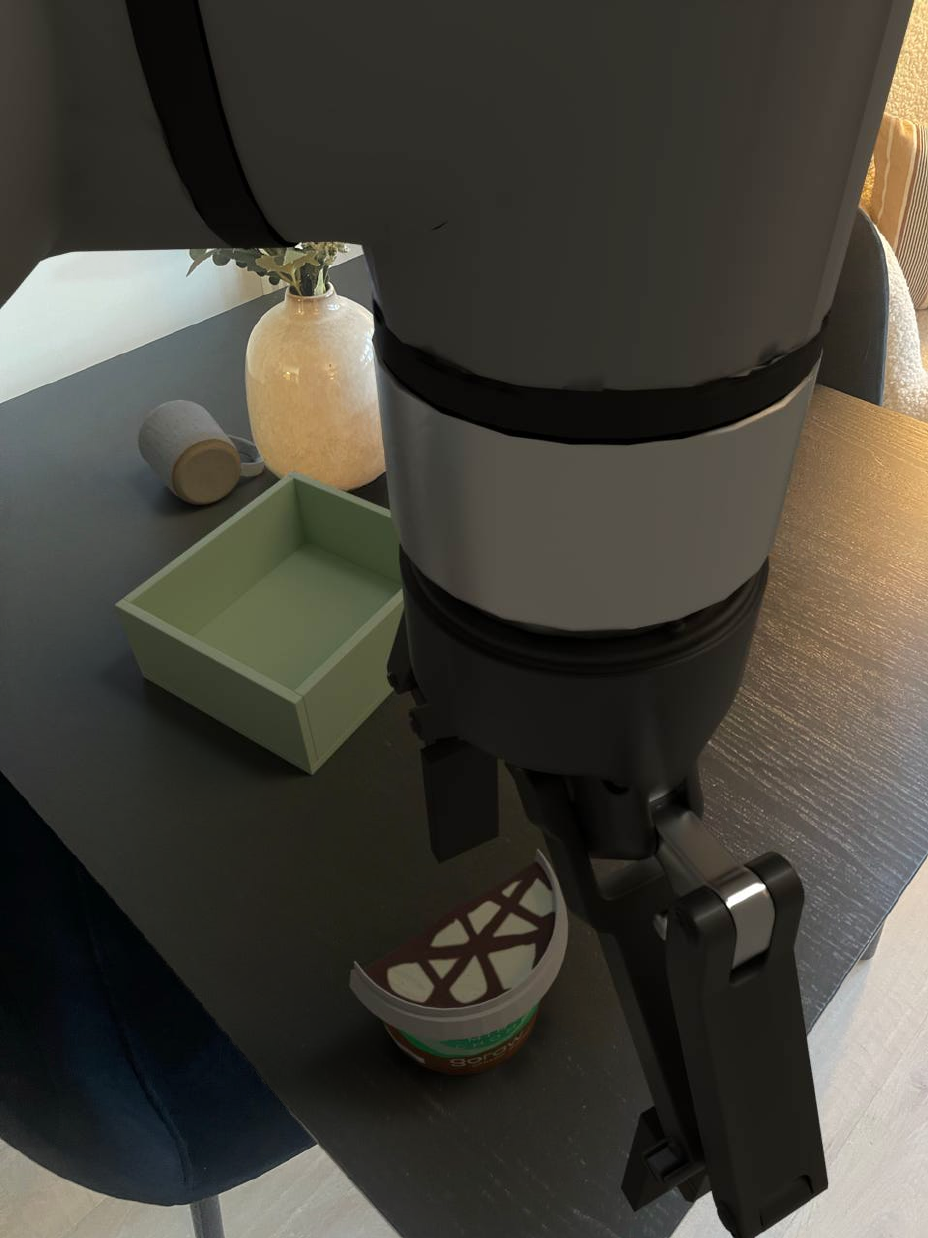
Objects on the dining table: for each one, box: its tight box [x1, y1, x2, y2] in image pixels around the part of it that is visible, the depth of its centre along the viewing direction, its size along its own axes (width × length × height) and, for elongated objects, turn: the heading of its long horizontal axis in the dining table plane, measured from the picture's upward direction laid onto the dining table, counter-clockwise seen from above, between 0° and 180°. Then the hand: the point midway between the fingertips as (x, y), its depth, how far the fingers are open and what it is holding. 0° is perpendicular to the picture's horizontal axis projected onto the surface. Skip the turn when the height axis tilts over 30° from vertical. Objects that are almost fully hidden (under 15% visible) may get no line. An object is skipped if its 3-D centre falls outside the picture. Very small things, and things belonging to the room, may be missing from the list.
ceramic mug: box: [137, 399, 266, 506], centre depth 91 cm, size 11×8×8 cm
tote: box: [114, 470, 404, 776], centre depth 74 cm, size 20×18×8 cm
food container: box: [348, 848, 569, 1076], centre depth 51 cm, size 12×6×10 cm, turn 123°
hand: (551, 989), depth 34 cm, fingers open, 13 cm apart
